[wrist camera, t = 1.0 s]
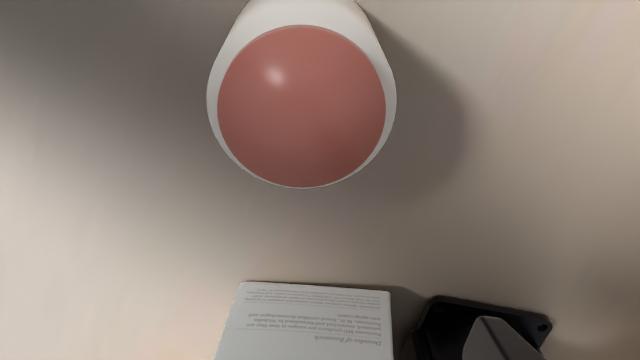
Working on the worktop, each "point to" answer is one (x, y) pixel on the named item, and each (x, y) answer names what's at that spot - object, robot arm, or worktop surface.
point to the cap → (301, 92)
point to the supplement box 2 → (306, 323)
